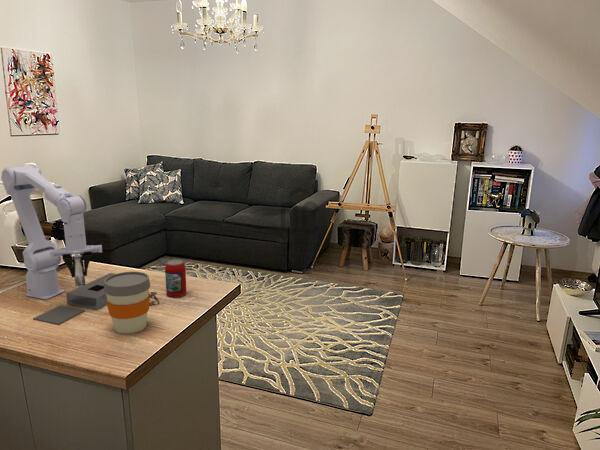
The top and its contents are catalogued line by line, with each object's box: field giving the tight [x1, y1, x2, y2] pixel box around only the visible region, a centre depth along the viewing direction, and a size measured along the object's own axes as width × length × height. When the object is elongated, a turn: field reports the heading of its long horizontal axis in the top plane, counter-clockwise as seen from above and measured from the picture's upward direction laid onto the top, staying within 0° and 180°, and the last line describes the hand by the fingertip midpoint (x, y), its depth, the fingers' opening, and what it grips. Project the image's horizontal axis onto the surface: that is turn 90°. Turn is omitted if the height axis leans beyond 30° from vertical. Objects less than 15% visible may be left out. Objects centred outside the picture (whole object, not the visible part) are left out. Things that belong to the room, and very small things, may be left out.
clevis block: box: [65, 272, 115, 311], centre depth 152 cm, size 12×20×4 cm, turn 161°
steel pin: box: [72, 254, 86, 287], centre depth 142 cm, size 3×3×10 cm
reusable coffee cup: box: [104, 271, 151, 335], centre depth 130 cm, size 13×12×15 cm
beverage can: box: [164, 258, 187, 298], centre depth 154 cm, size 7×7×12 cm
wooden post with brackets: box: [149, 291, 161, 306], centre depth 146 cm, size 2×8×4 cm, turn 114°
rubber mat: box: [32, 304, 86, 326], centre depth 138 cm, size 10×10×1 cm
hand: (79, 275), depth 142 cm, fingers closed on steel pin, 3 cm apart
